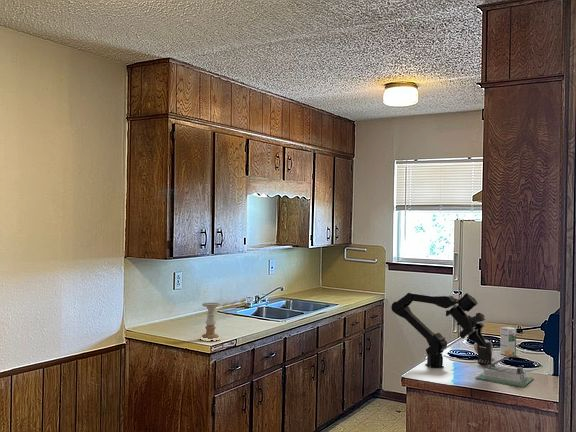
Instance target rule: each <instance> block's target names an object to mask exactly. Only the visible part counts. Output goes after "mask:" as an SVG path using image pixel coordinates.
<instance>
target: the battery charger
mask: <svg viewBox="0 0 576 432" xmlns="http://www.w3.org/2000/svg"><path fill="white" fill-rule="evenodd" d="M485 342H486V345H484V346H481V345H479V344H477V351H478V354H477V364H480V365H485V366H487V365H491V363H493V351H494V350H493V343H492V342H491V341H489V340H488V341H485Z"/></svg>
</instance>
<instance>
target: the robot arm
mask: <svg viewBox="0 0 576 432" xmlns="http://www.w3.org/2000/svg"><path fill="white" fill-rule="evenodd" d="M413 302H418V303H426V304H432V305H436V306H438V307H439V308H442V309H446V310H445V316H446V317H449V316H451V317H452V318H453V319H454V321H455V322H456V325H457V326H458V327H459V326H460V328H461V329H462V330H461V331H460V332H459V337H460V338H461V339H462V340H463V339H465V337H466V336H467V337H466V339H467V340H469V341H472V342H474V344H475V343H477V344H479V345H481V346H484V345H486V342H485V340H484V339H485V338H484V336H483V333H482V331H483V328H484V327H485V325H484V324H483V322H484V321H485V320H486V319H485V315H484V313H481V312H480V311H479V312H476V313H475V315H474V316H471V315H467V314H466V312H468V313H469V312H470V311H471V310H473V308H475V307H476V306H477V305H478V301H477V300H476V298H475V297H473V296H472V295H471V294H469V293H468V292H466V293H465V294H464V295H463V296H462V297H460V299H459V298H454V296H453V295H451V294H450V295H445V294H443V295H432V294H431V295H430V294H424V293H416V292H413V291H412V292H407V293H406V294H405V295H404V296H403V297H401V298H399V299H398V300H397V301H394V302H392V304H391V311H392V313H394V314H396V315H397V316H399V317H401V318H403V319H404V320H405V321H407V322H408V324H410V325H411V326H412V327H413V328H414V329H415V330H416V331H417V332H418V333H419V335H421V336H422V337H423V338H424V339H425V340H426V342H427V345H428V347H427V348H426V349H425V351H426V354H427V355H426V356H427V359H426V363H424V365H425V366H427V367H430V368H432V369H437V368H439V369H443V368H444V367H445V366H444V356H443V353H444V350H446V349H447V347H448V341H447V340H446V337H444V336H443V335H442V334H441V333H440V332H436V333H435V332H433V331H432V330H431V329H430V328H429V327H428V326H427V325H426V324H425V323H424V322H422V321H421V319H419V318H418V317H417V316H416V315H415V314H414V313H413V312H412V311H411V308H410V305H411V304H412V303H413Z"/></svg>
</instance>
